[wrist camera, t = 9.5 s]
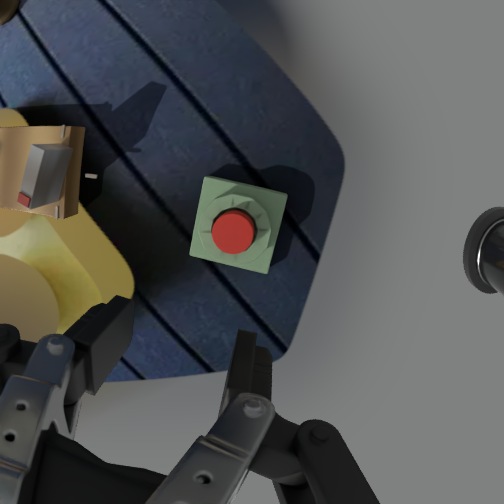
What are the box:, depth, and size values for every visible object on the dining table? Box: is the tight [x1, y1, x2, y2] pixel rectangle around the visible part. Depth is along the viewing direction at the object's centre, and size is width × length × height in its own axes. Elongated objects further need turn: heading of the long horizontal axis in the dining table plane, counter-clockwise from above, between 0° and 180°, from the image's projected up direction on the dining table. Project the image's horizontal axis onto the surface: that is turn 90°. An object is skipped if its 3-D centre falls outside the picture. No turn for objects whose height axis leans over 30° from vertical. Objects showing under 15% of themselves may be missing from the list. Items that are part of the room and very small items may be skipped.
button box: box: [190, 176, 288, 274], centre depth 31 cm, size 8×8×4 cm
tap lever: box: [17, 143, 73, 210], centre depth 26 cm, size 6×2×5 cm, turn 155°
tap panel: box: [0, 125, 97, 219], centre depth 30 cm, size 22×10×3 cm, turn 80°
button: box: [212, 210, 254, 254], centre depth 29 cm, size 4×4×2 cm
